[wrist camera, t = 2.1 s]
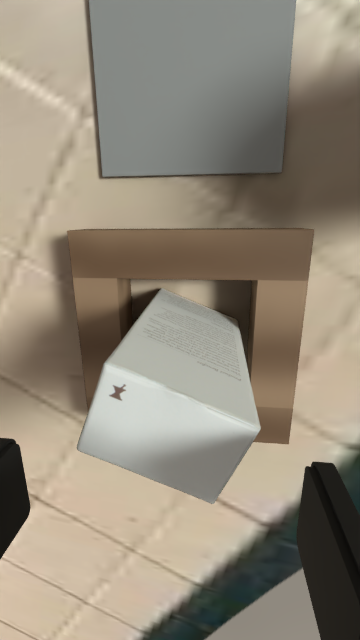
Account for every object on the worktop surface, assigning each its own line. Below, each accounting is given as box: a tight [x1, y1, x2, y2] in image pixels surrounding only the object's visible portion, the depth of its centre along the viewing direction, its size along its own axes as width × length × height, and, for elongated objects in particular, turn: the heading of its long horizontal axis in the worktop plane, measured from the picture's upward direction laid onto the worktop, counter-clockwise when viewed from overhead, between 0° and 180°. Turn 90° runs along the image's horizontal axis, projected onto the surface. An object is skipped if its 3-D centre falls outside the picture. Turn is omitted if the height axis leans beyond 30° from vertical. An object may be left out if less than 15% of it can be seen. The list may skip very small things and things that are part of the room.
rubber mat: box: [89, 0, 296, 177], centre depth 18 cm, size 10×11×1 cm
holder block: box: [67, 228, 314, 444], centre depth 21 cm, size 14×14×3 cm
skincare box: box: [77, 288, 261, 504], centre depth 17 cm, size 6×4×12 cm
